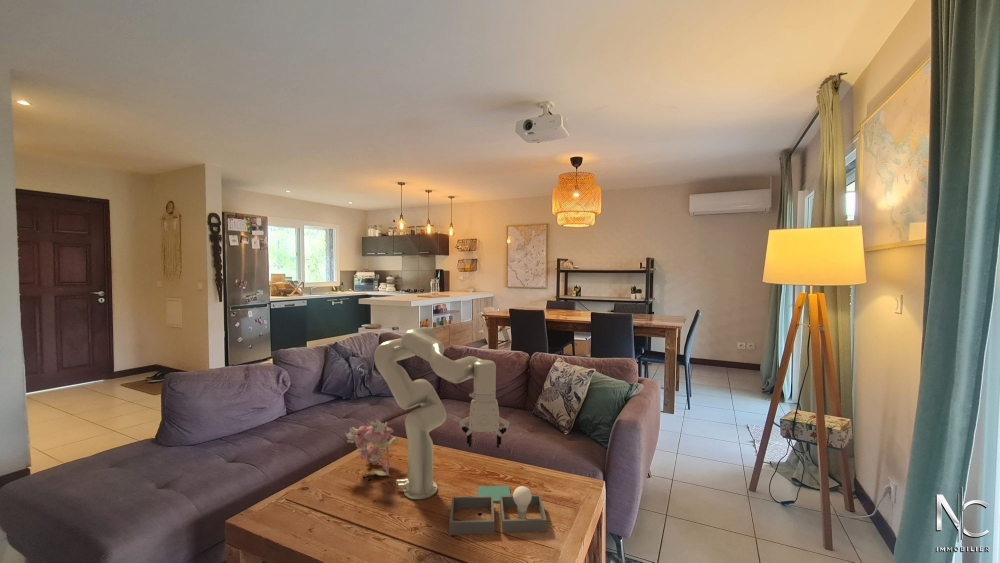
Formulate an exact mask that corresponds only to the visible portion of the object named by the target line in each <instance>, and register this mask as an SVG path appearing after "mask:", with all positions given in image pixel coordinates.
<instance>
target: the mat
mask: <svg viewBox="0 0 1000 563" xmlns="http://www.w3.org/2000/svg"><path fill="white" fill-rule="evenodd" d="M477 492H478V494H477V497H480V496H493V504H494V503H500V496H511V489H510V485H490V486H489V485H487V486H486V485H485V486H484V485H483V486H480V485H479V486H477Z"/></svg>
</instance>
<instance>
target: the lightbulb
mask: <svg viewBox="0 0 1000 563" xmlns="http://www.w3.org/2000/svg"><path fill="white" fill-rule="evenodd" d="M532 495H533V494H532V492H531V490H530V489H529V488H528V487H527V486H524V485H520V486H517V487H516V488H515V489H514V491H513V492H512V496H513V500H514V502H515V504H516V505H517V508H516V509H517V513H518V514H517V516H518V519H527V510H528V508H529V507H528V505H529V504H530V502H531V499H532Z"/></svg>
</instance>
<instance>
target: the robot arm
mask: <svg viewBox="0 0 1000 563" xmlns="http://www.w3.org/2000/svg"><path fill="white" fill-rule="evenodd" d="M437 338H438V337H437V334H436V332H435V330H433V328H431V327H429V326H423V327H416V328H412V329H408V330H407V331H405V332H404V333H403V335H401V338H396V339H391V340H387V341H384V342H382V343H381V344H379V345H378V346H377V347H376V348H375V350H374V354H373V356H374V357H373V358H374V364H375V367H376V369H377V371H378V373H379V374H380V375H381V376H382V378H383V379H384V381H385V382H386V384H387V386H388V389H389V391H390V392H391V394H392V396H393V397H394V400H395V401H396V403H397V405H398V406H399V407H400V408H401V409H403V410H409V409H412V408H415V407H417V406H421V407H418V408H415V409H414V410H412V411H410V412H409V413H408V414H407V416H406V417H405V419H404V429H405V433H406V438H407V440H406V441H407V478H404V479H403V478H402V479H401V478H400V479H399V478H398V479H397V478H396V482H395V483H396V484H395V485H396V486H397V485H398V488H403V494H404V496H405V497H407V498H408V499H411V500H425V499H428V498H430V497H432V496H434V495H435V494H436V493H437V491H438V485H437V483H436V482H435V481H434V443H433V442H434V441H433V439H432V438H431V436H430V432H431V431H433V430H435V429H437V428H438V427H440V426H442V425H443V424H444V423H445V422H446V420H447V411H446V409H445V406H444V403H442V400H441V399H440V396H439V394H438V393H437V391H436V390H435V388H434V386H433V385H432V384H431V382H429V381H428V380H427V379H424V378H418V379H415V380H412V378H411V377H410V376H409V374H408V372H407V371H406V369H405V368H404V367H402V365H400V364H398V363H397V362H398V361H402V360H407V359H408V358H412V357H415V356H417V357H419V358H421V359H423V360H424V361H426V362H428V363H429V366H430V368H431V370H432V371H433V372H434V373H435V374H436V375H437V376H438V377H440V378H442V379H443V380H446V381H447V382H449V383H452V384H460V383H462V382H464V381H467V380H470V379H473V391H472V392H470V393H468V394H469V395H468V396H469V398H472V400H471V401H470V407H469V416H467V417H464V418H462V419H460V420H458V421H459V422H458V424H459V426H460V428H461V430H462V432H463V433H465V435H466V444H468V448H471V447H472V444H473V441H472V439H473V438H472V437H473V435H472V434H473V433H472V432H476V433H477V432H478V433H496V434H497V435H496V448H497V449H499V448H500V445H502V436H503V435H504V434H505V433H506V432H507V430H508V429H509V426H510V421H509V420H506V419H505V418H503V417H501V416H500V411H499V402H498V399H496V389H497V388H496V386H497V385H496V384H497V383H496V382H497V381H496V380H497V375H496V374H497V368H496V367H497V365H496V362H494V361H493V360H490V359H482V358H479V357H476V356H473V355H469V356H465V357H462V358H459V359H456V360H453V359H450V358H448V357H447V356H444V352H445V345H444V343H443V342H442V341H440V340H438V339H437ZM465 423H466V424H467V423H468V426H466V424H465ZM500 424H502V425H504V426H502V428H501V427H500Z"/></svg>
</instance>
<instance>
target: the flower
mask: <svg viewBox="0 0 1000 563" xmlns="http://www.w3.org/2000/svg"><path fill="white" fill-rule="evenodd" d="M393 433H394V430H393V428H391V427H389V426H388V423H387V421H385V423H384V422H382V421H380V419H375V421H374V420H371V422H370V423H369V425H368V426H365V425H362V426H359V428H355V427H354V426H351V427H349V431H347V433H346V432H344V435H345V437H347V443H352V444H354V443H355V446H356V447H357V448H356V451H357V453H360V455H359V458H360V460H365V462H366V463H367V464H372V465H377V464H380V465H381V466H382V468H383V469H384V470H385V471H382V470H378V469H373V470H371V471H369V472H367V473H366V475H365V477H367V476H368V475H370V474H375V475H378V476H385V477H386V476H388V477H391V475H390V460H391V459H390V449H389V446H391V444H392V443H394V442H396V443H401V444H403V443H402V440H400V439H399V438H397V437H394V436H393V435H391V434H393ZM368 441H370V442H371V444H372V445H368V443H367V442H368ZM379 447H381V448H379ZM383 453H386V456H387V465H386V462H385V460H384V457H383Z"/></svg>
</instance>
